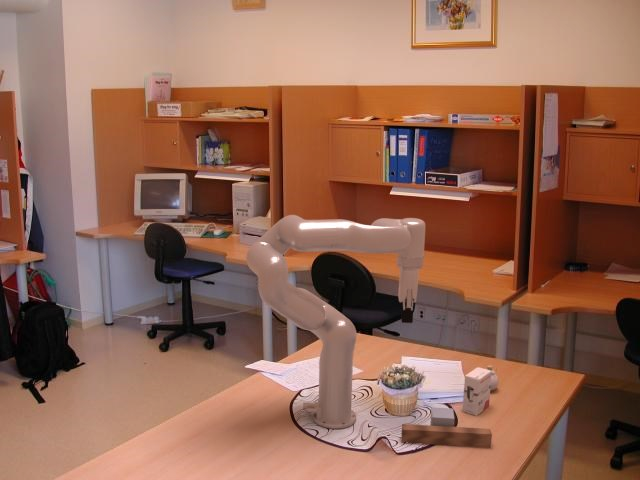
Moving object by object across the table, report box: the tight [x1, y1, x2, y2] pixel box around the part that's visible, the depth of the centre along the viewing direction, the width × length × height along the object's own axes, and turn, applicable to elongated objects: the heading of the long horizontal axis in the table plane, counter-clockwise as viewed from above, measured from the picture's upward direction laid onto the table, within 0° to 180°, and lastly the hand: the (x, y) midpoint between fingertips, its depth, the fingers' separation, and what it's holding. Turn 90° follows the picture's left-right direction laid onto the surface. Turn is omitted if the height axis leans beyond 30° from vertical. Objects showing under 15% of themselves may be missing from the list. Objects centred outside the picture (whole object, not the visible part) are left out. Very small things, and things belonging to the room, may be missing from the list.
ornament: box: [486, 363, 499, 392], centre depth 229 cm, size 6×7×10 cm
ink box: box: [461, 367, 492, 417], centre depth 216 cm, size 9×5×12 cm, turn 141°
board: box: [401, 423, 493, 449], centre depth 198 cm, size 24×3×4 cm, turn 86°
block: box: [429, 406, 455, 427], centre depth 203 cm, size 6×6×6 cm
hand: (406, 321), depth 212 cm, fingers closed
